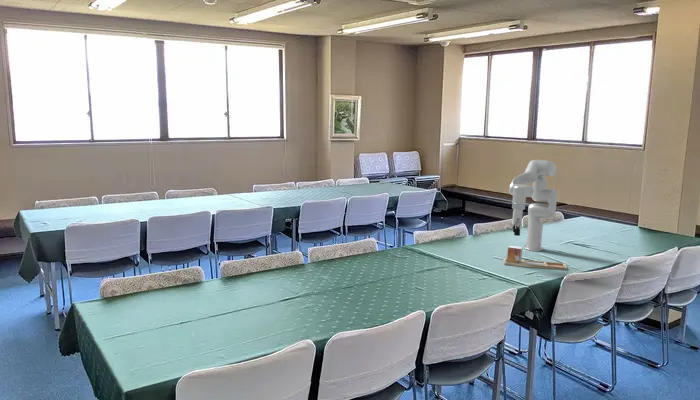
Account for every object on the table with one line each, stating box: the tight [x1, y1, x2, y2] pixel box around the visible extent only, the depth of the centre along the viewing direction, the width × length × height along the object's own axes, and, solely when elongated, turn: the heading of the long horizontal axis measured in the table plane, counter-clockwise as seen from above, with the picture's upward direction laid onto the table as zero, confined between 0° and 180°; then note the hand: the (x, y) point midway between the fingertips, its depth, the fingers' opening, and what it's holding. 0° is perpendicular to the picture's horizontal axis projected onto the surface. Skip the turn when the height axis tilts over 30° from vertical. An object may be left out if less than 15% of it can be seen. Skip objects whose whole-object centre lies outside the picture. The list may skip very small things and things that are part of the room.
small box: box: [506, 245, 524, 264], centre depth 324 cm, size 8×6×10 cm
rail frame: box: [502, 257, 568, 271], centre depth 322 cm, size 10×36×2 cm, turn 77°
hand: (516, 233), depth 321 cm, fingers open, 9 cm apart
